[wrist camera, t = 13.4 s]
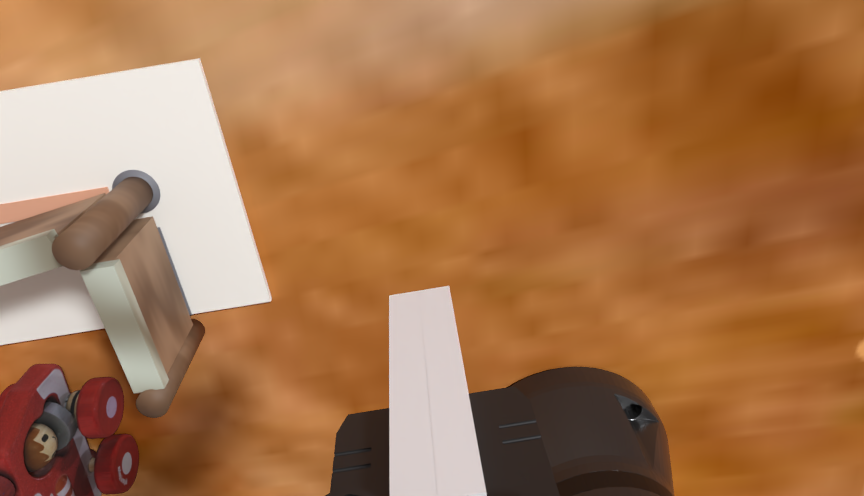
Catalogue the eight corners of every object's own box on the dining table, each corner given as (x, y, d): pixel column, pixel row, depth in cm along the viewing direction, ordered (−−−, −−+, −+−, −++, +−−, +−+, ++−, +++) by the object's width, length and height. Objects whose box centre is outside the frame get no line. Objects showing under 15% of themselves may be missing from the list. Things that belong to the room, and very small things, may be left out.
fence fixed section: (209, 338, 44) (169, 426, 36) (181, 342, 44) (134, 431, 36) (149, 171, 39) (85, 230, 30) (117, 176, 39) (44, 237, 30)
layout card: (271, 298, 43) (270, 302, 42) (-3, 342, 43) (-7, 347, 42) (199, 58, 36) (197, 59, 35) (-127, 112, 36) (-134, 114, 36)
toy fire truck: (110, 343, 44) (34, 451, 34) (149, 477, 49) (92, 602, 40) (7, 349, 43) (-99, 459, 34) (57, 483, 49) (-22, 610, 39)
